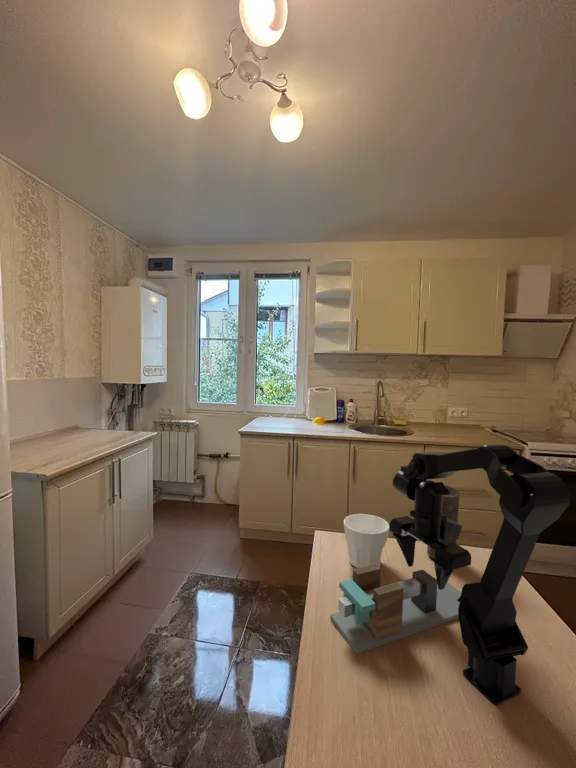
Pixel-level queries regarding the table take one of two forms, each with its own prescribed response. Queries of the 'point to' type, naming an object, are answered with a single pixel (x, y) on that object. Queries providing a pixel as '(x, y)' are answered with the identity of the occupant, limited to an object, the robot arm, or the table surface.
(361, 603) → the spacer
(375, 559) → the cup
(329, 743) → the table surface
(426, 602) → the shaft
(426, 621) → the base board
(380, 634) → the bearing block
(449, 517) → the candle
